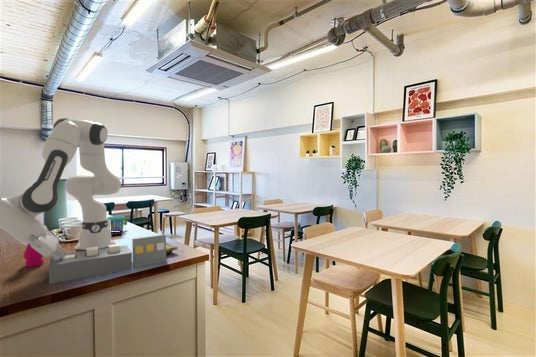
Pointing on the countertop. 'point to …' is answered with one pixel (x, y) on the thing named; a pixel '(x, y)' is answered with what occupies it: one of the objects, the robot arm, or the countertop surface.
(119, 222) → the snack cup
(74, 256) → the key left
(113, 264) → the console
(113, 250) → the key right
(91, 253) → the key middle
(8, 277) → the countertop surface
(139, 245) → the card
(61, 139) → the robot arm
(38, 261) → the pepper mill
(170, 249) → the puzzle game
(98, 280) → the countertop surface
